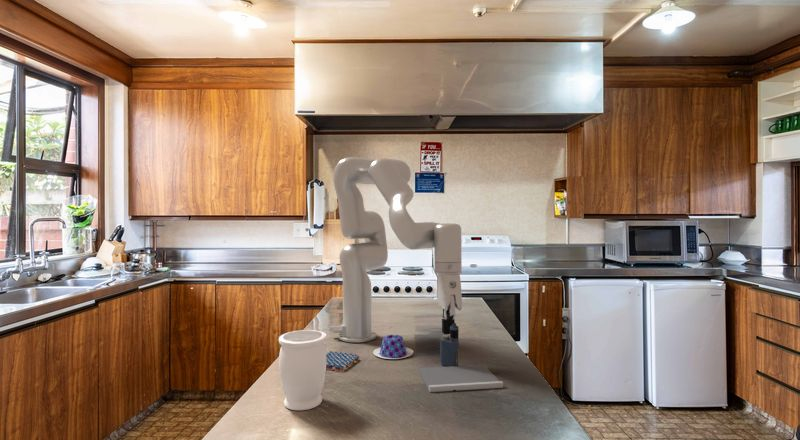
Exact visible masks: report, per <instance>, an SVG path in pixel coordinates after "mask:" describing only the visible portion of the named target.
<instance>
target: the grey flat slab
mask: <svg viewBox="0 0 800 440" xmlns="http://www.w3.org/2000/svg"><path fill="white" fill-rule="evenodd" d="M418 371H419V373H420V376H421V378H422V379H423V382H424V383H425V385H426V388H427V389H428V391H429V393H438V392H452V391H453V390H456V391H468V390H469V391H470V390H471V391H472V390H483V389H484V390H486V389H487V390H488V389H501V388H502V389H503V388H504V382H503V381H502V380H499V379H498V378H497V377H496V375H494V374H493V373H492V372H491V370H489V368H488V367H487V366H486V365H485V364H473V365H471V364H470V365H458V366H451V367H449V366H435V367H434V366H433V367H419V368H418ZM453 392H454V391H453Z"/></svg>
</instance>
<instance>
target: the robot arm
mask: <svg viewBox="0 0 800 440" xmlns="http://www.w3.org/2000/svg"><path fill="white" fill-rule="evenodd" d="M411 176H412V173H411V169H410V167H409V165H408V164H407V163H406V162H405V161H403V160H401V159H393V158H385V157H384V158H382V157H381V158H378V159H371V158H363V157H354V156H352V157H345V158H343V159H341V160H339V161H338V163H337V164H336V166H335V167H334V170H333V177H332V179H333V186H334V189H335V190H334V191H335V193H336V197H337V204H338V214H339V222H340V229H341V234H342V236H343V237H344V238H346V239H349V240H362V239H363V240H364V242H356V243H355V242H354V243H349V244H347V245H346V246H344V247H343V248H342V249H341V251H340V254H339V264H340V269H341V276H342V277H341V278H342V322H341V324H339V325H338V326H337V325H330V326H329V332H330V333H333V334H338V339H339V341H343V342H346V343H365V342H367V343H368V342H371V341H373V340H375V339H376V338H377V332H375V331H374V330H373V329H372V328H373V327H372V323H373V321H372V319H373V318H372V317H373V316H372V311H373V310H372V308H373V307H372V304H373V303H372V282H371V279H370V277H369V275H368V273H367V272H368V271H372V270H379V269H382V268H383V267H384V266H385V265H386V263H387V262H388V257H389V255H388V253H389V251H388V242H387V235H386V234H387V233H386V227H385V222H384V219H383V217H382V216H381V214H379V213H378V212H376V211H371V210H365V206H364V205H365V204H364V198H363V195H362V193H361V191H360V189H359V188H358V187H357V185H358V184H362V185H364V184H365V185H375V186H376V189H378V191H379V192H380V194H381V195H382V197H383V198H384V200H385V201H386V203H387V205H388V206H389V208H388V219H389V225H390V227H391V228H390V229H391V230H392V232H393V233H394V234H395V236H396V237H397V239H398V240H399V242H400V243H401V244H402V245H403V246H404V247H406V248H407V249H408V250H409V249H410V250H412V251H413V250H421V249H433V248H434V251H433V252H434V261H433V262H434V269H433V270H434V274H436V275H437V278H436V279H437V280H436V281H437V282H436V283H437V284H436V285H437V287H436V299H437V304H438V306H439V307H440V308H441V317H442V318H441V332H442V333H443V334H448V335H450V326H452V323H456V322H455V320H456V319H455V318H456V310H458V311H461V310H462V309H463V300H462V299H463V298H462V295H463V294H462V281H461V275H460V274H462V272H463V271H462V269H463V268H462V267H463V266H462V262H463V261H462V227H461V225H460V224H458V223H448V222H447V223H439V222H435V221H434V222H433V221H431V222H429V221H427V222H425V221H424V222H415V220H414V219H413V218H412V217H411V215H410V214H409V212H408V210H407V208H406V207H407V206H408V205H409V204H410V203H411V201H412V200H413V198H414V194H415V193H414V191H413V190H414V189H412V188H411V186H410V185H409V181H410V180H411ZM443 334H442V335H443Z"/></svg>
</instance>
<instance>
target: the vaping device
mask: <svg viewBox="0 0 800 440" xmlns="http://www.w3.org/2000/svg"><path fill="white" fill-rule="evenodd" d="M459 332H460V331H459V326H458V325H457V323H456V322H455V323H452V326H450V334H442V335H441V337H440V343H439V345H440V347H439V348H440V349H439V350H440V352H439V355H440V357H439V359H440V360H439V361H440V364H441V365H442V366H444V367H451V366H459V348H460V347H459V344H460V343H459Z"/></svg>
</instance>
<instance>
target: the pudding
mask: <svg viewBox="0 0 800 440" xmlns="http://www.w3.org/2000/svg"><path fill="white" fill-rule="evenodd" d="M372 353H373V355H374V356H376V357H378V358H381V359H387V360H398V359H404V358H407V357H411V356H412V355H413V354H414V350H413V349H412V348H409V347H406V345H405V340H404V338H403V336H401V335H399V334H388V335H385V336H384V337H383V338H382V343H381V346H380V347H377V348H375V349H374V350H373V352H372Z"/></svg>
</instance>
